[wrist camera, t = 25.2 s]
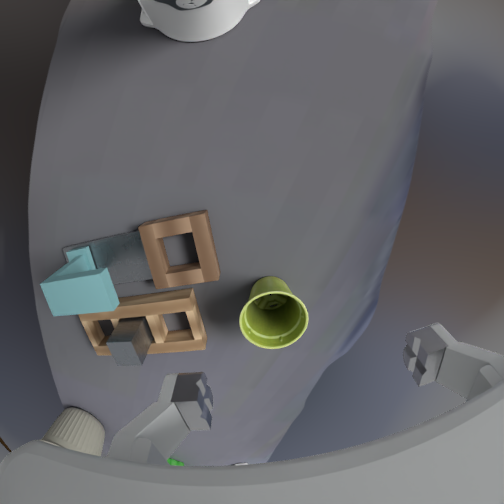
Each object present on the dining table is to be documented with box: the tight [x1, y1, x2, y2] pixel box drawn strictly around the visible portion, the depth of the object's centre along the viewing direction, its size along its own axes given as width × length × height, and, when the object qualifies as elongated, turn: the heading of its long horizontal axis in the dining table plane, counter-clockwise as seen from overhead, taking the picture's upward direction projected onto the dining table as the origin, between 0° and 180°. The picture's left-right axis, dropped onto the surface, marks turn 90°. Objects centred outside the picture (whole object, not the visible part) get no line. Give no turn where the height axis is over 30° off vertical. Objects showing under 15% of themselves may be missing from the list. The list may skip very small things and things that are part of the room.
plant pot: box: [239, 276, 308, 349], centre depth 42 cm, size 9×9×9 cm
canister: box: [40, 407, 105, 456], centre depth 49 cm, size 18×18×21 cm
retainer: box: [40, 246, 120, 316], centre depth 36 cm, size 13×7×12 cm, turn 99°
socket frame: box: [63, 210, 220, 289], centre depth 42 cm, size 27×10×3 cm, turn 99°
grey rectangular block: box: [106, 316, 154, 366], centre depth 43 cm, size 5×5×10 cm
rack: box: [78, 288, 207, 355], centre depth 46 cm, size 10×22×4 cm, turn 99°
